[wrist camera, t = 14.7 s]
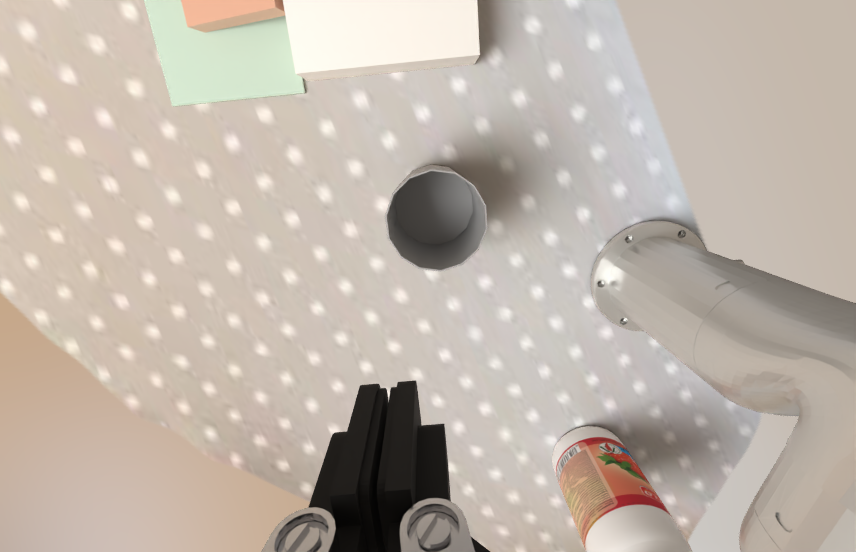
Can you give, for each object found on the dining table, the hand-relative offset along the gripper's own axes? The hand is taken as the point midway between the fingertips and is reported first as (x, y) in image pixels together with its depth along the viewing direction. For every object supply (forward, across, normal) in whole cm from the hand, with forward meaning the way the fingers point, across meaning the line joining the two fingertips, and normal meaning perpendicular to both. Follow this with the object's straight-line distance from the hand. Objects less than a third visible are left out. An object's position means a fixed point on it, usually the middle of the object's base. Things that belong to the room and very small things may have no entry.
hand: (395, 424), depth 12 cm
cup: (+32, -2, -2) cm, 33 cm away
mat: (+32, +16, -22) cm, 42 cm away
